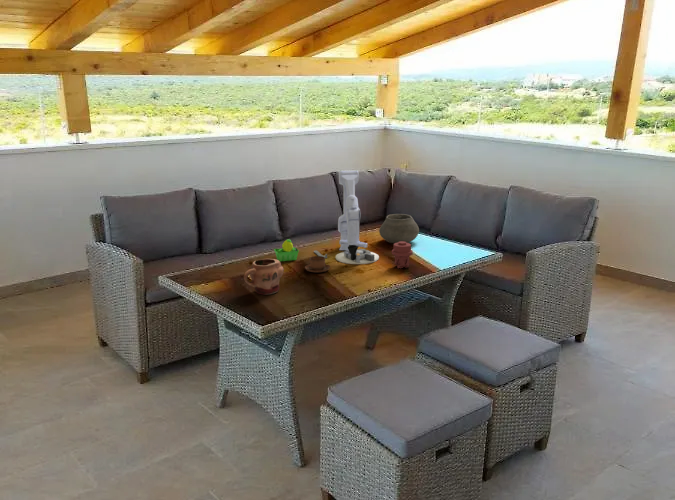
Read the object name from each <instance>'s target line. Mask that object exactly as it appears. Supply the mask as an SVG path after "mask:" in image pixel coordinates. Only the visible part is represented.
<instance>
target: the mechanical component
mask: <svg viewBox="0 0 675 500" xmlns="http://www.w3.org/2000/svg"><path fill="white" fill-rule="evenodd" d="M413 252H414V251H413V249H412V244H411V243H410V242H408V243H406V242H404V241H400V242H398V243H393V249H392V250H391V254H392V255H393V256H394V265H396V266H397V269H399V268H400V269H403V267H405V268H409V265H410V257H411V256H412V255H413Z"/></svg>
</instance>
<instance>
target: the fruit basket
mask: <svg viewBox="0 0 675 500" xmlns="http://www.w3.org/2000/svg"><path fill="white" fill-rule="evenodd" d="M281 247H282V248H274V249H273V250H274V253H275V256H276V257H275V258H276V260H279V261H280V262H290V261H297V259H298V255H299V251H300V250H299V249H298V248H297V247H295V246H294V245H293V243H292V240H291V239H290V238H289V239H286V240H284V241H283V243H282V245H281Z"/></svg>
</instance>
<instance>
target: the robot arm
mask: <svg viewBox="0 0 675 500" xmlns="http://www.w3.org/2000/svg"><path fill="white" fill-rule="evenodd" d="M359 173H360V172H359V170H358V169H355V170H351V169H350V170H349V169H347V170H339V172H338V184H339V185H342V187H343V214H342V215H340V216H339V217H338V219H337V220H338V222H337V230H338V232H339V233H340V240H339V245H340V247H339V249H338V250H339V251H346V250H349V251H350V254H351V260H355V257H356V255H355V253H356V251H357V249H359V247H360V248H363V249H366V248H368V243H367V242H363V241H360V221H361V209H360V207H359V200H358V199H359V198H358V197H357V196H356V193H355V192H356V185H358V182H360V181H359V180H360V174H359Z"/></svg>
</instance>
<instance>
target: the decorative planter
mask: <svg viewBox="0 0 675 500" xmlns="http://www.w3.org/2000/svg"><path fill="white" fill-rule="evenodd" d="M284 270H285V269H284V267H283V266H282V263H281V261H279V260H278V259H277V258H276V259H275V258H263V259H257V260H254V261H253V262H252V264H251V268H250V269H248V270H247V271H245V272H244V275H243V281H244V282H245V283H246V284H247V285H248V286H250V287H253V288H254V291H255V292H256V294H259V295H266V296H267V295H273V294H275V293H278V292H279V291H280V279H281V278H282V276H283V275H284ZM248 277H250V279H251V282H250V281H249V280H248Z"/></svg>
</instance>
